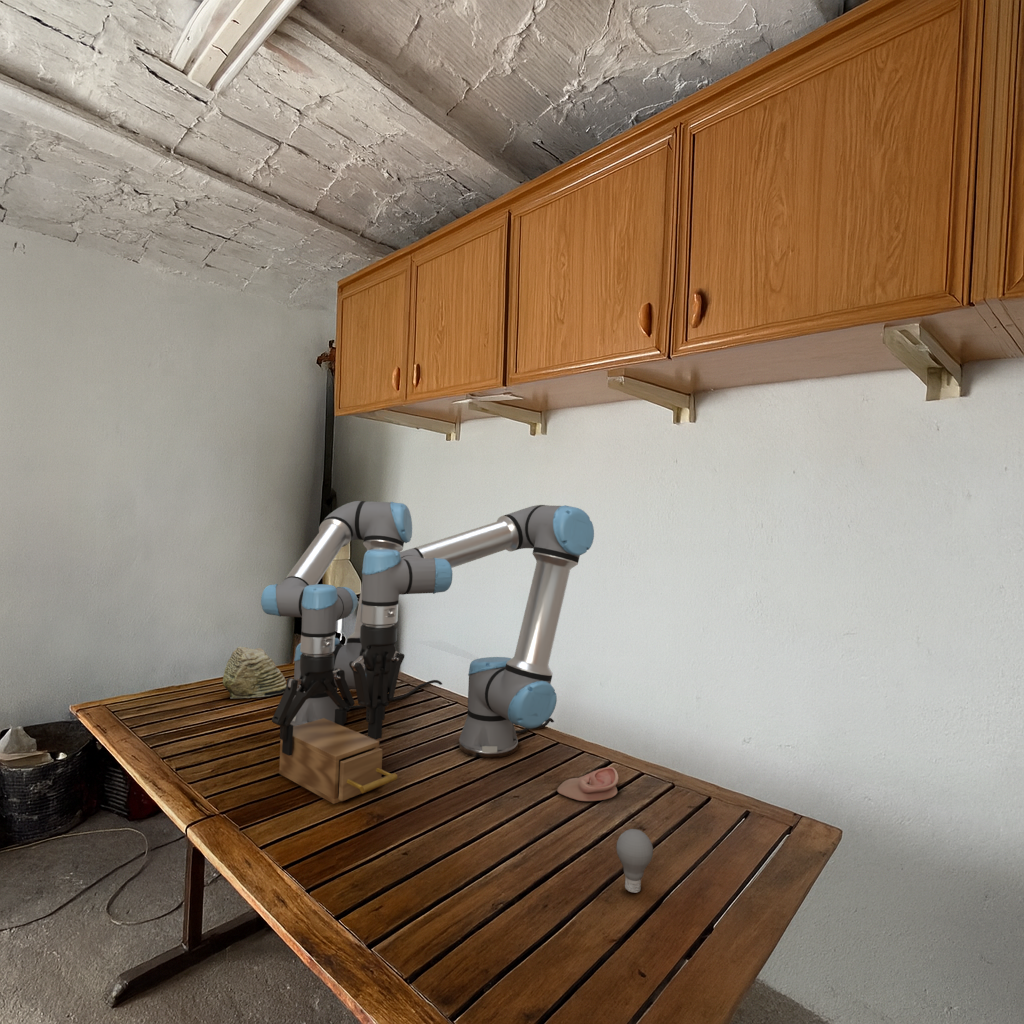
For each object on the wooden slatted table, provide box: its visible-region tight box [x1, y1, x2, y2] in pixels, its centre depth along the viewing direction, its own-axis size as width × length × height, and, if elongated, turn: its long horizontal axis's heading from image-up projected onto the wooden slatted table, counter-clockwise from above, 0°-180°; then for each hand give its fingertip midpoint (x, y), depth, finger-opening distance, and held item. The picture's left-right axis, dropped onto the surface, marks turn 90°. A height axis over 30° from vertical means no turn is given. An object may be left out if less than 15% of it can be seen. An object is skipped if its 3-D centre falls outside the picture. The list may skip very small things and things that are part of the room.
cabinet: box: [278, 718, 380, 805], centre depth 142 cm, size 21×12×10 cm, turn 51°
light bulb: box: [615, 828, 654, 894], centre depth 106 cm, size 6×6×10 cm
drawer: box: [338, 747, 398, 802], centre depth 138 cm, size 25×10×8 cm, turn 51°
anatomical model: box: [556, 766, 619, 802], centre depth 142 cm, size 13×4×12 cm
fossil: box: [222, 646, 287, 699], centre depth 198 cm, size 9×18×15 cm, turn 132°
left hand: (313, 745), depth 145 cm, fingers open, 13 cm apart
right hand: (374, 736), depth 132 cm, fingers closed
